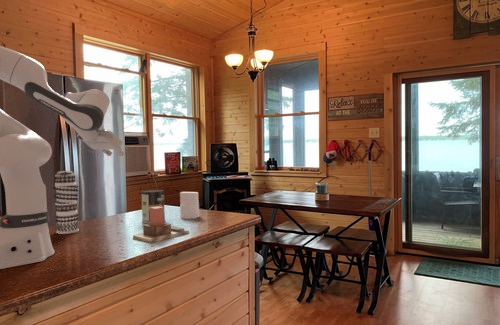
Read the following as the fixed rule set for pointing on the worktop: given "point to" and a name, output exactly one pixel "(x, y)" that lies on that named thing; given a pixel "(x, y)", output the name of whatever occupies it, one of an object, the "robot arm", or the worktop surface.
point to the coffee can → (151, 202)
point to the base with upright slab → (189, 205)
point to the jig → (159, 232)
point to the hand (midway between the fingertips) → (116, 154)
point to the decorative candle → (66, 202)
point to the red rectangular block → (156, 216)
